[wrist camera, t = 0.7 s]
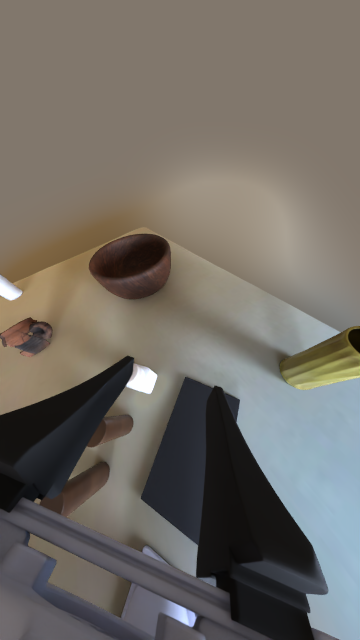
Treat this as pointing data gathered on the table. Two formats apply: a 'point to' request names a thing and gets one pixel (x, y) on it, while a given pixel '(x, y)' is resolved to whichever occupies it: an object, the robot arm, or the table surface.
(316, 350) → the vase
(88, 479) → the walnut dowel
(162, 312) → the table surface
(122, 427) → the walnut dowel
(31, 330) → the brown curled ring figurine
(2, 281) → the drinking glass
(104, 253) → the wooden bowl
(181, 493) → the mat
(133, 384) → the pepper shaker
